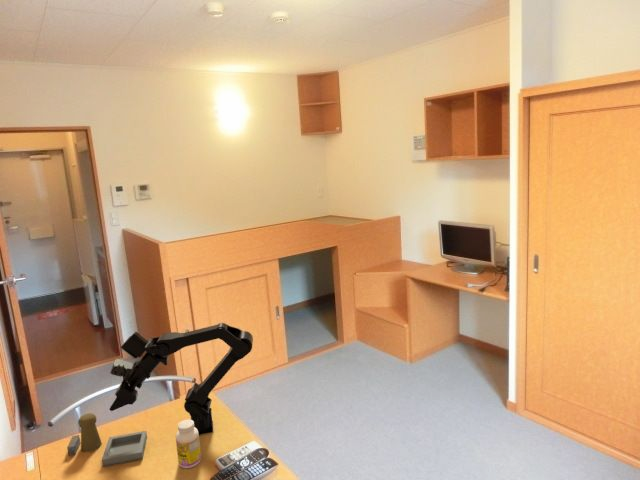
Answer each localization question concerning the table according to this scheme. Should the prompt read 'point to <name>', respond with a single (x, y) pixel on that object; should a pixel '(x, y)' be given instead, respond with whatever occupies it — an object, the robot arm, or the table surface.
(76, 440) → the bar
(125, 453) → the tray
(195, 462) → the supplement bottle
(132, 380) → the robot arm
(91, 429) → the cork
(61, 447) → the table surface
